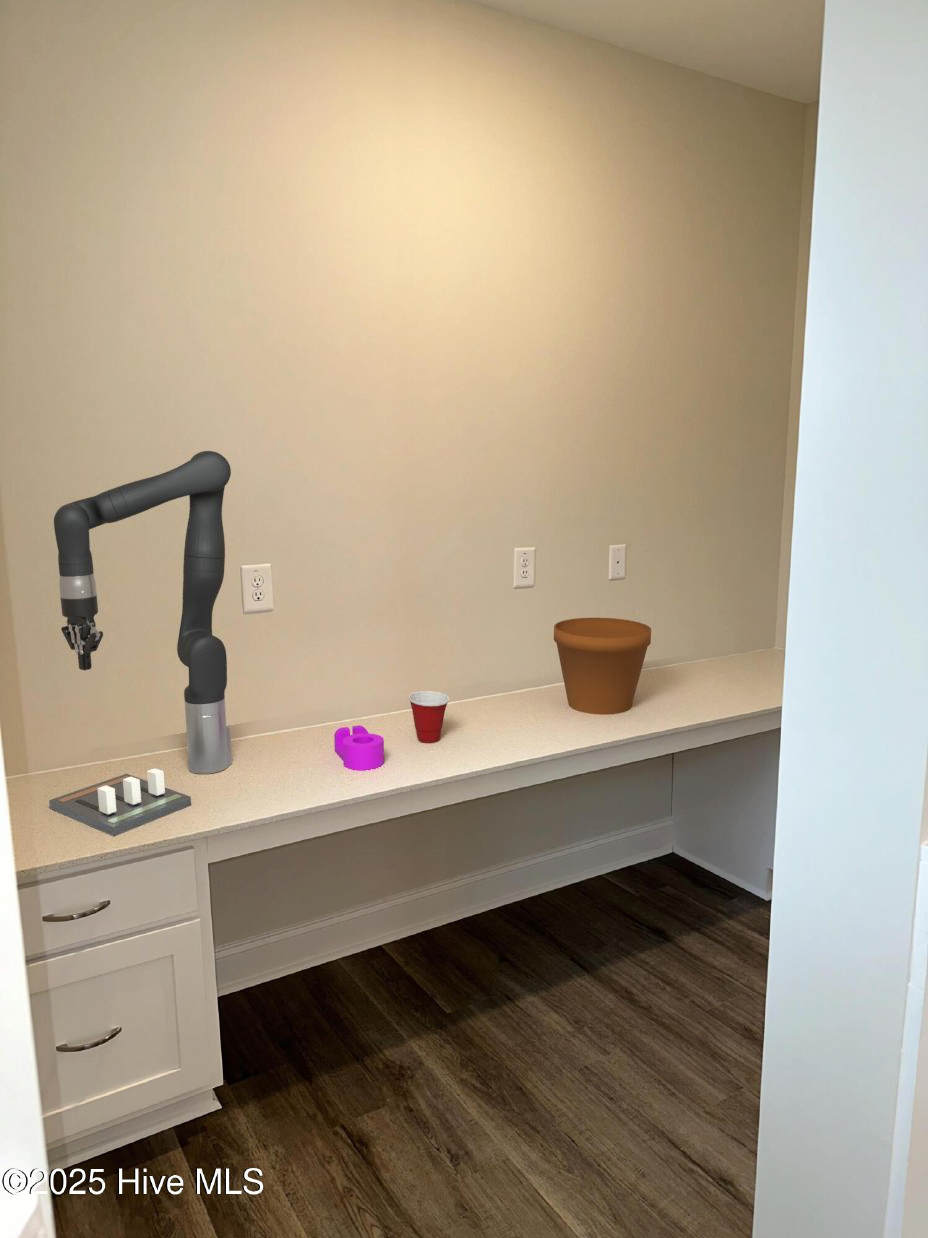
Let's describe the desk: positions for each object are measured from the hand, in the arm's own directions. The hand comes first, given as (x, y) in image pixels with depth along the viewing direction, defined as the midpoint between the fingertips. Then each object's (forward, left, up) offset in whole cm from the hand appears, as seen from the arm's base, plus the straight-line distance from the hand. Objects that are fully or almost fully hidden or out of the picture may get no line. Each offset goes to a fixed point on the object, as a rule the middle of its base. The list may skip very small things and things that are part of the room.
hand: (85, 669), depth 208 cm
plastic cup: (-68, +46, -27) cm, 86 cm away
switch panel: (+6, +19, -27) cm, 33 cm away
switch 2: (0, +23, -24) cm, 34 cm away
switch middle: (+6, +23, -24) cm, 34 cm away
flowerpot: (-122, +68, -27) cm, 142 cm away
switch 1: (+12, +23, -24) cm, 36 cm away
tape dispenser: (-46, +41, -27) cm, 67 cm away
